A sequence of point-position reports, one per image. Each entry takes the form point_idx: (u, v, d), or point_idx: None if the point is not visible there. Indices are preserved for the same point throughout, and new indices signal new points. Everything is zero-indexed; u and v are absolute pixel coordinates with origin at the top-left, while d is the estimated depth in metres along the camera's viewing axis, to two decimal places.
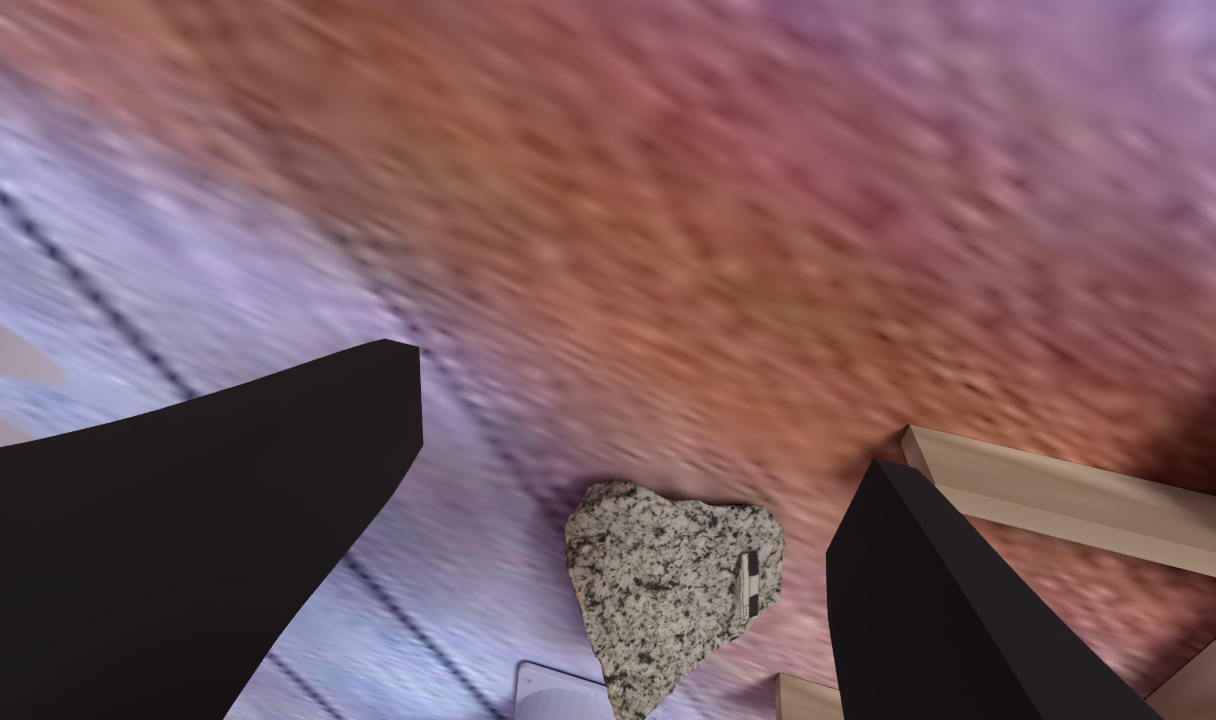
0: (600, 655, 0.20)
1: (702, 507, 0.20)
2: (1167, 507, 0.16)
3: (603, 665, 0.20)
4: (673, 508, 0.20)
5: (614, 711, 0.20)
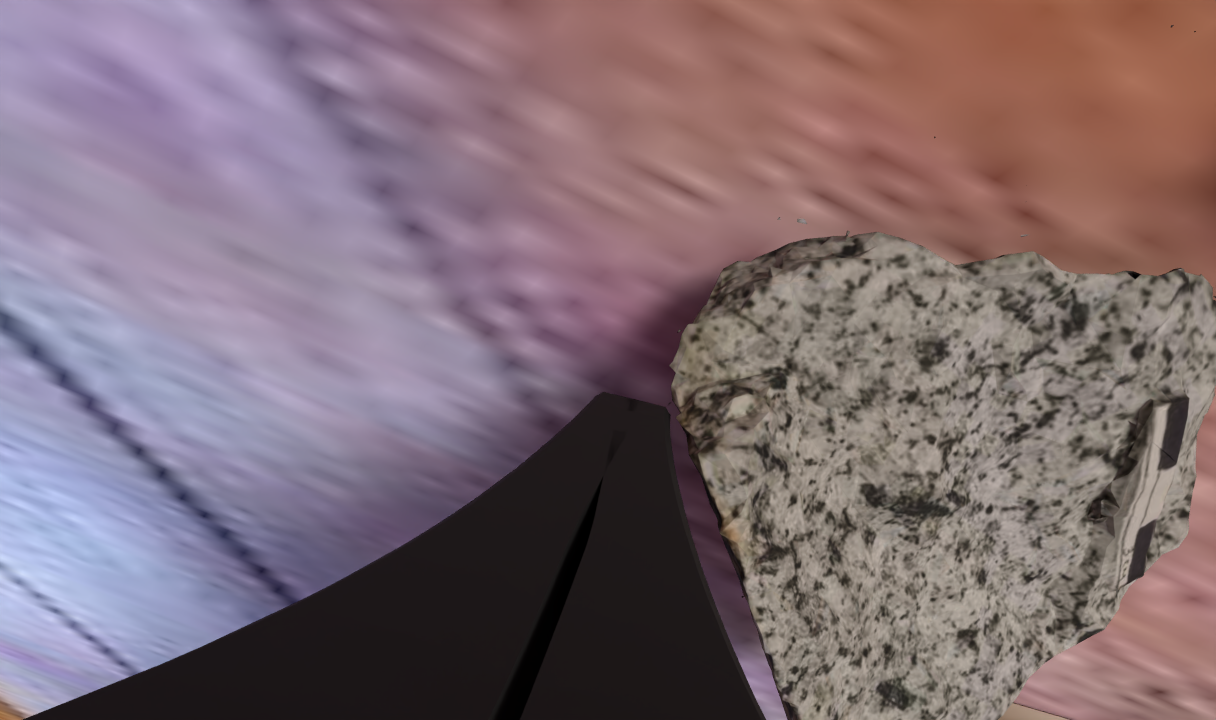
0: (797, 696, 0.07)
1: (1054, 274, 0.07)
2: None
3: None
4: (971, 285, 0.07)
5: None
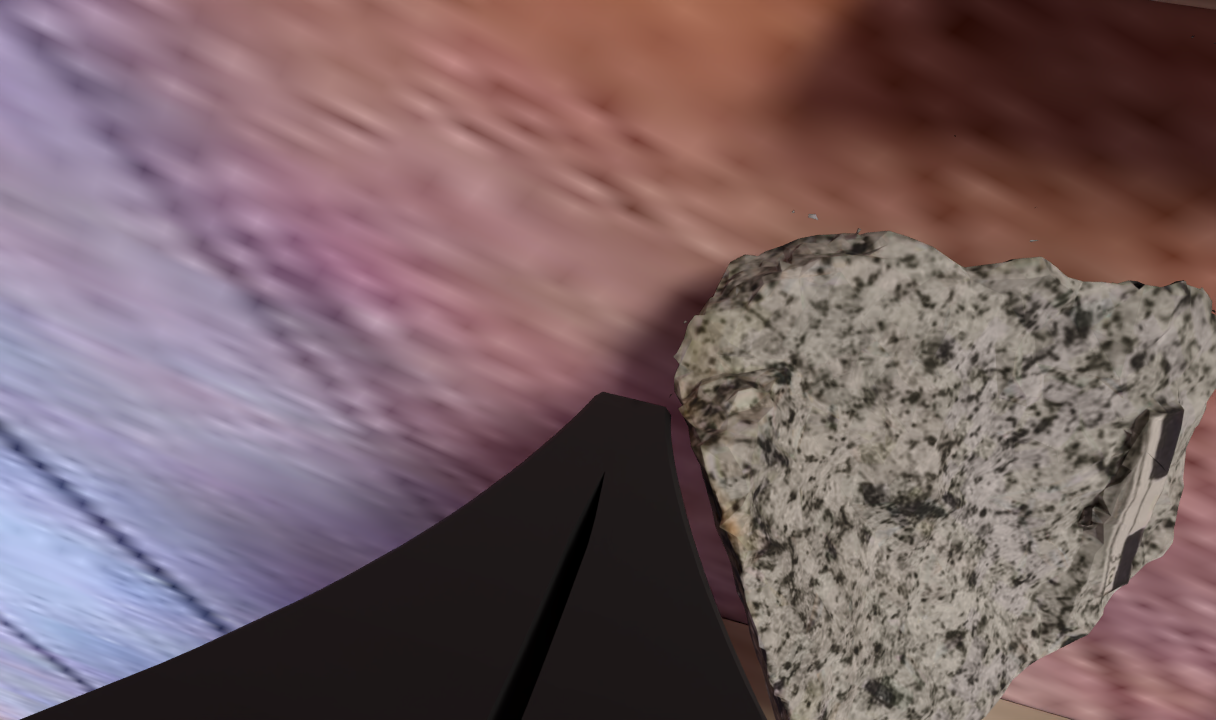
0: (788, 691, 0.07)
1: (1060, 281, 0.07)
2: None
3: (795, 717, 0.07)
4: (977, 288, 0.07)
5: None
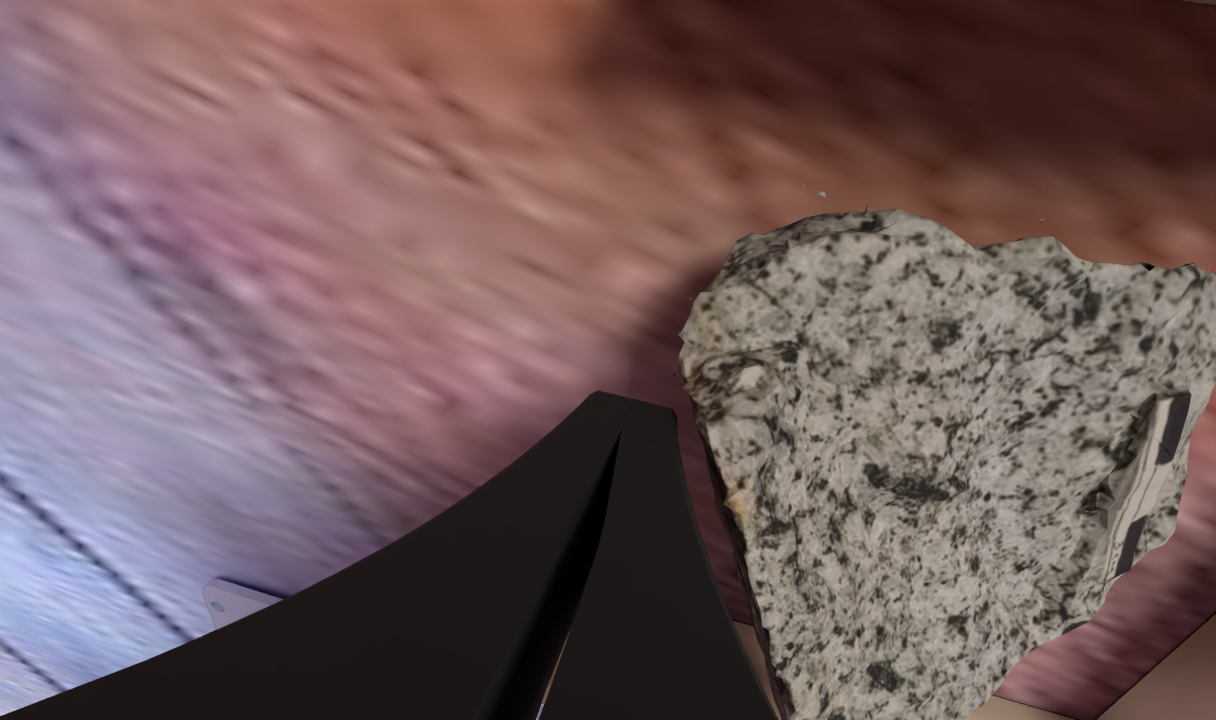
0: (791, 671, 0.07)
1: (1070, 261, 0.07)
2: None
3: (797, 699, 0.07)
4: (987, 268, 0.07)
5: None
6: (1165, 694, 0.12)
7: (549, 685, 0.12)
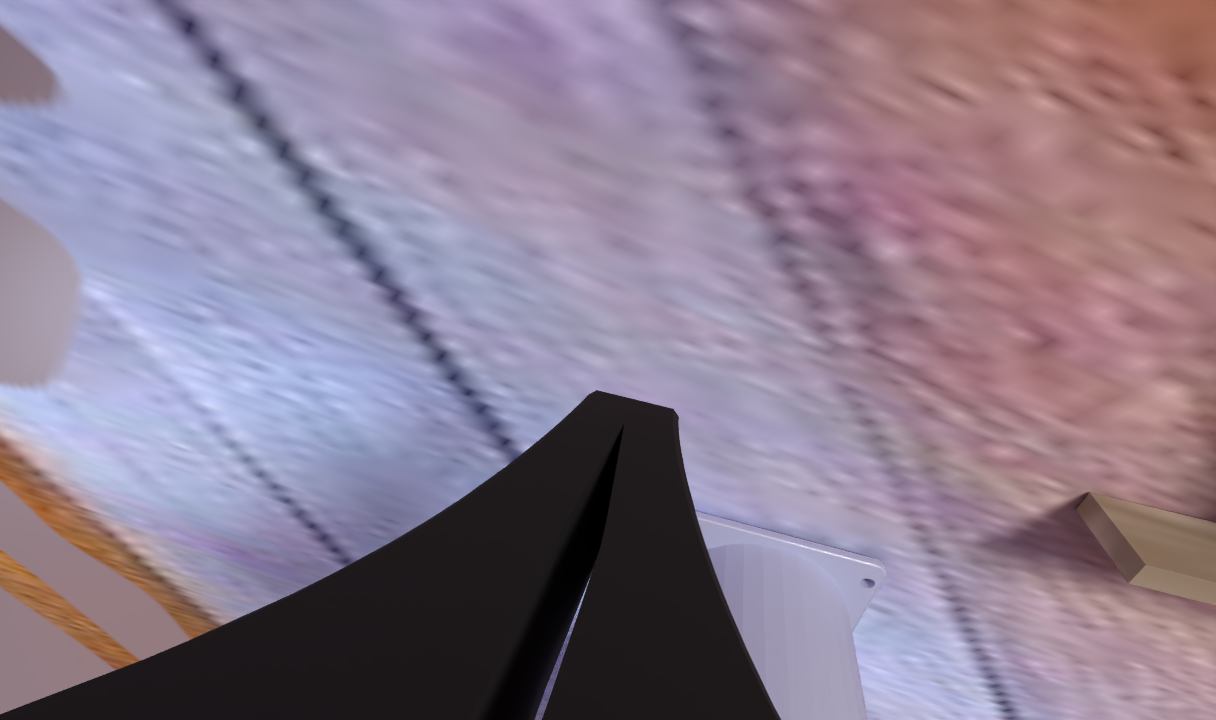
0: None
1: None
2: None
3: None
4: None
5: None
6: None
7: (1153, 566, 0.15)
